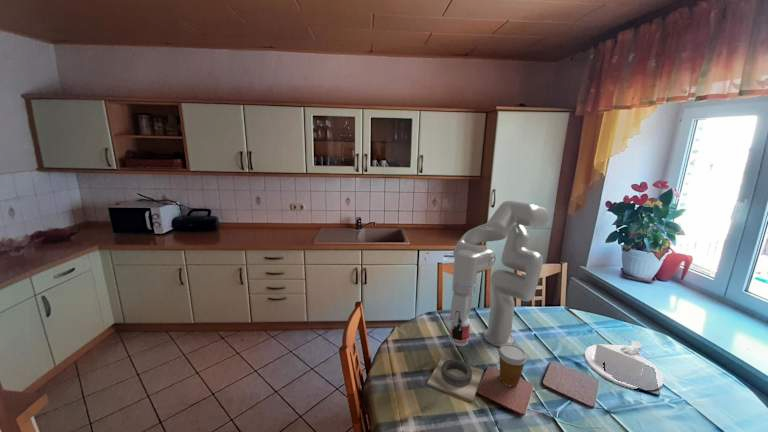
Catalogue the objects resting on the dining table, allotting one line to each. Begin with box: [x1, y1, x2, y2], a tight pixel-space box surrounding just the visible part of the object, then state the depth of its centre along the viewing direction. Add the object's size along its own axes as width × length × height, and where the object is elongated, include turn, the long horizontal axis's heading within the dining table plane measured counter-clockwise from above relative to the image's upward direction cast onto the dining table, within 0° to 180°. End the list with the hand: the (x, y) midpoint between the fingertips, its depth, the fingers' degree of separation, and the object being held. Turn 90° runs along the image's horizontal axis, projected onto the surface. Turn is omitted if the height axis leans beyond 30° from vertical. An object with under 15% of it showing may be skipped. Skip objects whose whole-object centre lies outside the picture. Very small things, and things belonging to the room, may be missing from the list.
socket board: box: [427, 356, 484, 403], centre depth 117 cm, size 16×16×4 cm
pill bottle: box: [450, 315, 471, 347], centre depth 112 cm, size 6×6×11 cm
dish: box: [584, 340, 665, 390], centre depth 124 cm, size 25×25×11 cm
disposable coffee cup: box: [497, 344, 528, 387], centre depth 116 cm, size 10×10×12 cm
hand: (459, 333), depth 113 cm, fingers closed on pill bottle, 6 cm apart
